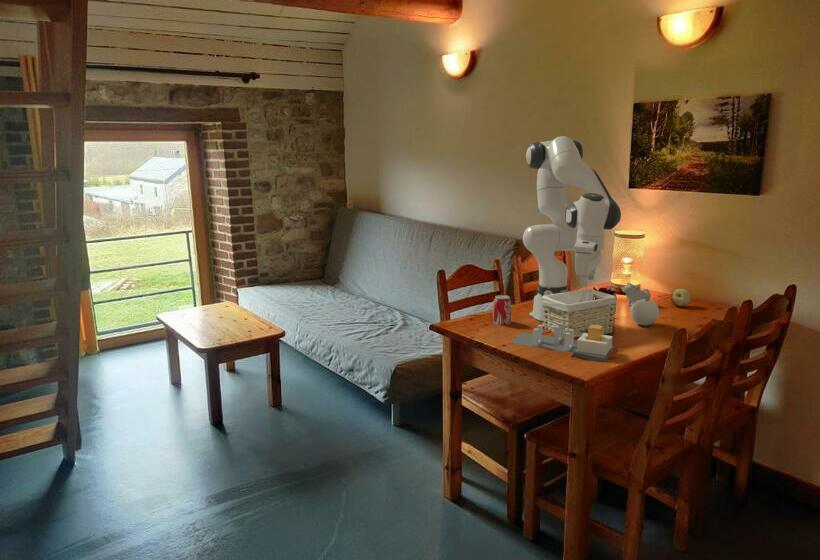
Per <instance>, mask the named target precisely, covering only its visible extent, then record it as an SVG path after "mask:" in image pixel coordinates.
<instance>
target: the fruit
mask: <svg viewBox="0 0 820 560" xmlns="http://www.w3.org/2000/svg"><path fill="white" fill-rule="evenodd" d="M691 297H692V296H691V294H690V292H689V291H688V290H687V289H684V288H676V289H674V290H672V292H671V294H670V301H671V303H672V305H674V306H675V307H679V308H680V307H684V306H686V305H688V304H689V302H690V301H691V299H692V298H691Z"/></svg>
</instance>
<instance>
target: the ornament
mask: <svg viewBox="0 0 820 560" xmlns="http://www.w3.org/2000/svg"><path fill="white" fill-rule="evenodd" d="M631 306H632V305H631ZM659 310H660V309H659V306H658V305H657V303H656V302H655V301H653V300H651V299H650V300H649V296H647V295H646V299H642V300H638V301H636V302H635V303H634V304H633V306H632V308H631V307H630V316H631V318H632V321H633V322H634V323H636V324H637V325H639V326H645V327H646V326H651V325H653V324H655V323H656V322H657V320H658V319H659V315H660V311H659Z"/></svg>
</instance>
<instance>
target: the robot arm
mask: <svg viewBox="0 0 820 560" xmlns="http://www.w3.org/2000/svg"><path fill="white" fill-rule="evenodd" d="M583 156H584V149H583V146H582V143H581V142H580V141H578V140H574V139H572V138H570V137H569V136H567V135H566V136H565V135H562V136H557V137H555V138H554V139H552V140H546V141H535V142H531V143H530V144H529V145H528V146H527V150H526V154H525V158H526V162H527V166H528V167H529V168H531V169H533V170H538V171H537V175H536V176H537V177H536V195H537V207H538V211H539V212H540V214H541V215H544V216H545V217H548V218H549V219H550V220H551V223H550V224H549V223H547V224H546V223H545V224H544V223H543V224H536V225H531V226H527V227H526V229H525V230H524V232H523V235H522V243H523V245H524V247H525V248H526V250H528V251H529V252H530V253H531V254H532V255H533V256H534V258H535V259H536V262H537V264H538V275H539V277H538V280H539V281H538V284H537V294H536V295H535V296H534V298H533V308H532V311H531V312H529V316H530V317H533V318H534V319H536V320H538V321H540V322H544V314H543V312H544V311H543V305H542V296H544V295H550V294H557V293H564V292H569V287H570V286H569V285H570V284H569V283H568V266H567V265H566V263H564V262H563V261H562V260H560V259H558V258H556V256H555V252H564V251H565V252H567V251H568V252H569V251H571V252H572V251H574V252H575V255H574V260H575V261H574V269H575V270H574V271H575V275H577V276H579V279H580V286H581V287H587V286H588V281H594V279H595V273H596V269H597V268H598V267H599V266H600V265H601V255H602V254H601V253H602V250H603V249H604V245H605V244H604V243H605V230H608V231H609V230H613V229H614V228H615V227H616V226H617V225H618V224H619V223H620V221H621V218H622V212H621V211H622V210H621V207H620V206H619V204H618V203H617V202H616V201H615V200H614V199H613V197H612V196H611V194H610V192H609V191H608V189H607V187H606V186H605V184H604V182H603V181H602V179H601V177H600V176H599V174H598V172H597V171H596V170H595V169H593V168H591V167H590V166H588V165H587V163H586V162H585V161H584V160H583V158H584V157H583ZM565 185H567V186H570V187H571V186H572V187H575V188H576V187H577V188H580V189H584V190H585V191H587V192H589V193H584V194H581V196H580V197H579V199H578V200H576V201H573V202H570V203H569V204H568V203H567V197H566V186H565Z"/></svg>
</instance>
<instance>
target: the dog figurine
mask: <svg viewBox="0 0 820 560" xmlns="http://www.w3.org/2000/svg"><path fill="white" fill-rule="evenodd" d="M621 291H622V293H625V297H626V298H627V300H628V301H627V306H628V307H629V306H631V307H630V309H631V308H632V306H633V304H634V303H635V302H636V301H638V300H642V299H646V295H647V296H649V300H651V297H652V295H651V292H650V290H649V289H648V288H643V289H641V287H640V286H639V285H636V286H635V285H634V284H632V283H630V282H626V285H624V286H622V287H621Z"/></svg>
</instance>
